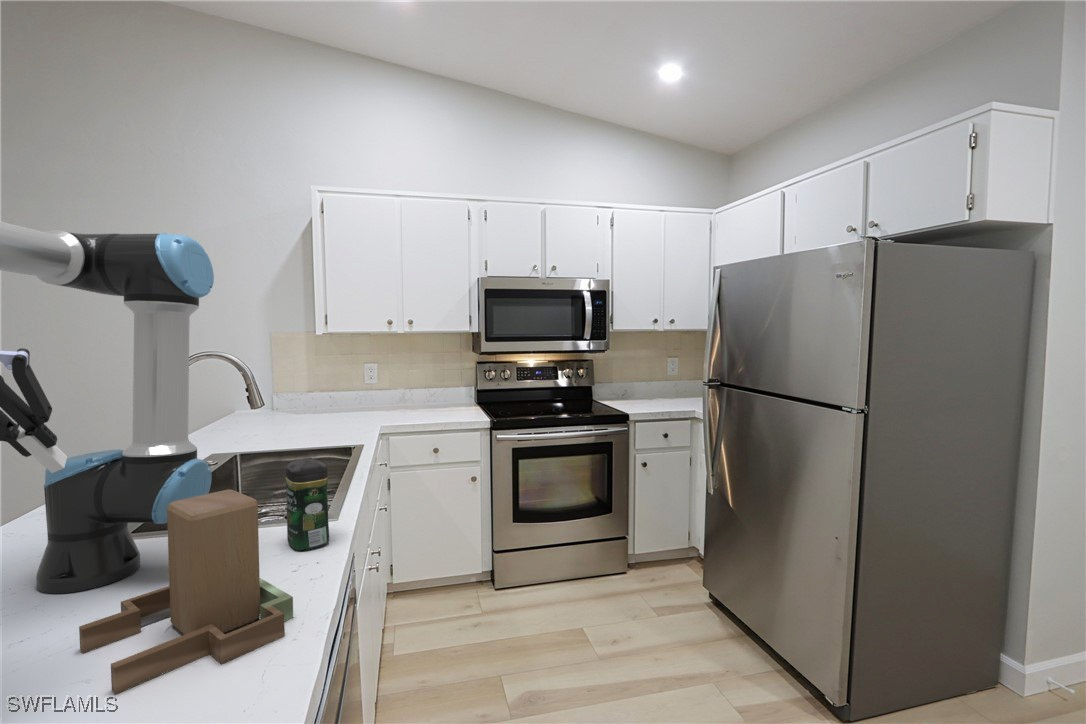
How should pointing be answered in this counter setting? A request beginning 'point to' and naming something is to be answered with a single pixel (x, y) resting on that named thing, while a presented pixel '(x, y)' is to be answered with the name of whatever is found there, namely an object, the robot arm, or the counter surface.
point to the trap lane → (188, 646)
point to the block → (213, 561)
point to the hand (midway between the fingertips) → (59, 464)
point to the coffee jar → (307, 504)
